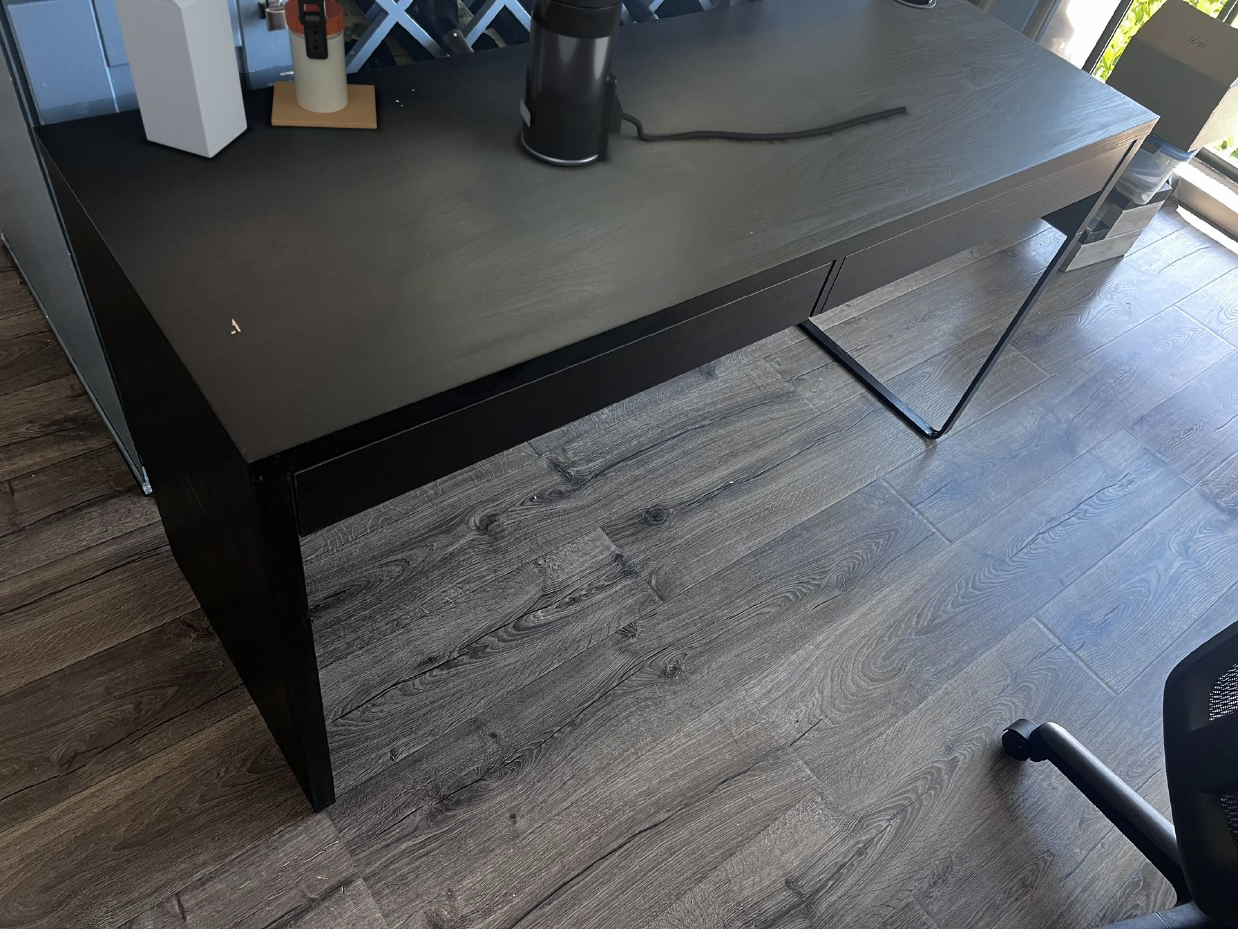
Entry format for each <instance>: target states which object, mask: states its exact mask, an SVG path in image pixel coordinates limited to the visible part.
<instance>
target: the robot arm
mask: <svg viewBox="0 0 1238 929" xmlns="http://www.w3.org/2000/svg"><path fill="white" fill-rule="evenodd" d="M325 2H326V0H298V8H299V15H298V20H299V21H300V25H303V27H304V37H305V47H306V55H307V57H308V58H309V59H318V60H326V59H327V58H328V42H327V30H326V25H327V21H328V16H326V3H325ZM306 4H309V5H317V6H318V7H319V11H307V10H306ZM623 5H624V0H531V12H530V22H529V23H530V24H529V37H528V38H529V39H528V50H527V65H526V77H525V93H524V101H523V100H522V98H520V106H519V107H520V108H519V112H520V114H521V115H522V117H523V119H522V126H521V127H522V131H521V134H520V135H521V136H520V143H521V147H522V148H523V149H524V151H526V152H527V153H528V154H529V155H530V156H531V157H533V158H535V159H537V160H539V161H541V162H544V163H547V164H551V165H553V166H554V165H555V166H560V167H580V166H585V165H589V164H591V163H594V162H596V161H605V160H607V154H608V147H609V140H610V135H620V134H621V128H622V121H623V120H624V121H626V122H628V123H631V124H632V125H634V126H635V127H636V133H637V136H638V137H639V138H640V139H641V140H643V141H646V142H664V141H680V140H686V139H693V138H724V139H738V140H750V141H751V140H752V141H753V140H754V141H756V140H757V141H764V140H765V141H767V140H768V141H769V140H770V141H771V140H772V141H773V140H788V139H798V138H805V137H806V138H807V137H812V136H817V135H825V134H828V133H833V132H837V131H840V130H844V129H846V128H850V127H854V126H856V125H859V124H864V123H868V122H871V121H876V120H879V119H883V118H887V117H891V116H894V115H899V114H903V113H905V112H906V111H907V110H908V109H907V107H906V106H900V107H896V108H892V109H888V110H883V111H880V112H876V113H872V114H868V115H863V116H861V117H858V118H854V119H850V120H848V121H844V122H841V123H837V124H833V125H830V126H825V127H820V128H814V129H807V130H801V131H791V132H776V133H775V132H774V133H772V132H771V133H751V132H750V133H749V132H736V131H723V130H722V131H721V130H693V131H686V132H681V133H676V134H670V135H663V136H656V135H655V136H654V135H651V134H650V135H649V134H647V133H645V132H644V127H643V124H642V122H641V121H640V120H639V119H638V118H636V117H635V116H633V115H631V114H629V113H626V112H624V109H623V107H622V105H621V104H622V103H621V102H620V99H619V97H618V95H617V93H616V92H617V85H618V77H617V74H616V72H615V70H614V68H615V61H616V55H617V53H616V52H617V47H618V40H619V34H620V26H621V20H622V19H621V18H622V12H623Z"/></svg>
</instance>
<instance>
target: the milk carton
mask: <svg viewBox="0 0 1238 929" xmlns="http://www.w3.org/2000/svg"><path fill="white" fill-rule="evenodd" d="M113 3H114V8H115V11H116V15H117V19H118V22H119V23H118V24H119V27H120V32H121V35H122V41H123V45H124V49H125V52H126V58H127V60H128V66H129V70H130V74H131V77H132V82H133V86H134V90H135V94H136V97H137V104H138V107H139V112H140V116H141V120H142V123H143V128H144V132H145V135H146V140H147V141H149V142H154V143H156V144H159V145H163V146H167V147H171V148H174V149H178V150H181V151H185V152H187V153H191V154H195V155H198V156H202V157H206V158H213V157H214V156H216V155H217V154H218V153H219V152H221V151H222V149H225V147H226V146H228V145H229V144H231V142H232V141H234V140H235V139H237V137H239V136H240V135H241V134H243V133H244V132H245V131H246V130H247V128H248V124H247V119H246V118H247V117H246V111H245V105H244V99H243V93H242V87H241V80H240V74H239V65H238V60H237V55H236V47H235V42H234V35H233V29H232V21H231V15H230V10H229V3H228V0H113Z"/></svg>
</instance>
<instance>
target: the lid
mask: <svg viewBox="0 0 1238 929" xmlns="http://www.w3.org/2000/svg"><path fill="white" fill-rule="evenodd" d="M325 3H326V16H328V21H327V25H326V30H327V36H329V35H333V34H336V33H338V32H340V31H341V30H342V29H343V30H344V27H345V24H346V23H345V15H344V9H343V5H341V4H340V3H339V2H338V1H336V0H326V2H325ZM306 10H307V11H319V7H318V6H317V5H309V4H306ZM283 11H284V19H285V23H286V27H289V28H290V29H291V30H293V31H295V32H297V33H300V34H303V35H304V27H303V25H300V21H299V20H298V15H299V8H298V0H287V1H286V2H285V4H284V10H283Z"/></svg>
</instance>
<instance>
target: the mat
mask: <svg viewBox="0 0 1238 929" xmlns="http://www.w3.org/2000/svg"><path fill="white" fill-rule="evenodd" d="M347 89H348V104H347V106H346V107H345V108H343V109H342V110H339V111H336V112H332V113H317V112H312V111H308V110H306V109H304V108H302V107H301V106H299V104H298V103H297V101H296V92H295V84H294V81H280V80H275V81H274V86H273V98H272V99H273V100H272V111H271V126H283V127H311V128H312V127H313V128H317V127H318V128H343V129H344V128H345V129H372V130H375V129H377V126H378V125H377V124H378V123H377V109H376V108H377V106H376V92H375V91H376V90H375V85H372V84H371V85H370V84H350V83H349V84H348V83H347Z"/></svg>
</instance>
